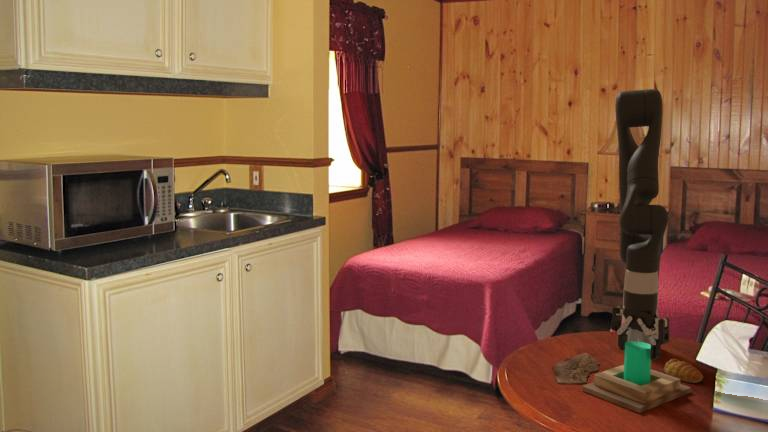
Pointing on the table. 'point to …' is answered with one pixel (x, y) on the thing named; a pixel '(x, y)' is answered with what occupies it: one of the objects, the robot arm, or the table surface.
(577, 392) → the table surface
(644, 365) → the candle
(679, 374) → the pastry
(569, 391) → the table surface
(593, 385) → the board
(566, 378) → the wooden fragment
